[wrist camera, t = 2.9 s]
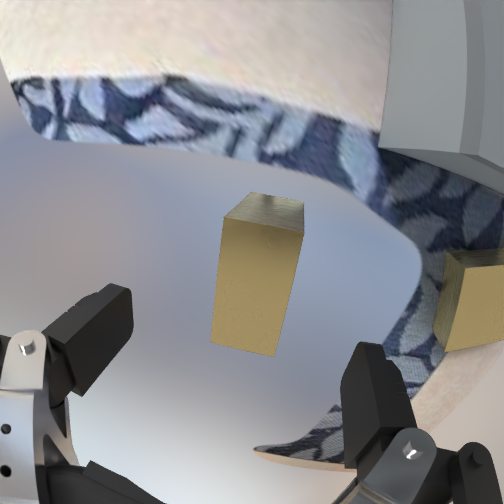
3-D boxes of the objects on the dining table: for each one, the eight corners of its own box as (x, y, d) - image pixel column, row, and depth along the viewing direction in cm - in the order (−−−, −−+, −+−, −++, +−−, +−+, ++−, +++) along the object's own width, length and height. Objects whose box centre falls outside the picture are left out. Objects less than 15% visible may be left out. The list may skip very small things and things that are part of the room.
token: (444, 249, 16) (465, 268, 13) (506, 246, 14) (529, 262, 12) (430, 327, 18) (444, 352, 15) (490, 317, 16) (506, 338, 14)
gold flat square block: (251, 191, 16) (224, 217, 11) (303, 201, 16) (304, 232, 10) (237, 284, 18) (210, 342, 13) (283, 294, 18) (273, 356, 13)
